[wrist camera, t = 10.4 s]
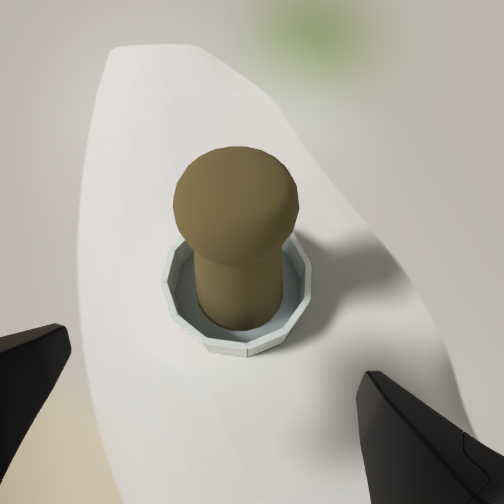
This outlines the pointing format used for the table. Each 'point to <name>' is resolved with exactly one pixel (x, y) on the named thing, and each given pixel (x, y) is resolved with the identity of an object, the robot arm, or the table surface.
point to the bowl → (222, 340)
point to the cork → (237, 232)
